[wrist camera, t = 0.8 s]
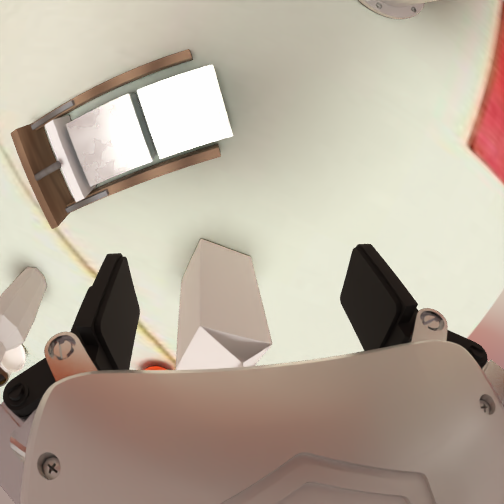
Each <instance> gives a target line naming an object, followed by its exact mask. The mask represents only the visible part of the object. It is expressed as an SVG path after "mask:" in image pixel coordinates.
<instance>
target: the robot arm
mask: <svg viewBox="0 0 504 504" xmlns="http://www.w3.org/2000/svg"><path fill="white" fill-rule="evenodd" d="M359 1H360V2H361V3H362V4H363V5H365V6H366V7H368V8H369V9H371V10H372V11H374V12H376V13H378V14H380V15H383V16H385V17H388V18H394V19H405V18H410V17H413V16H416V15H417V14H418V13H419V12H420V11H421V10H422V9H423V7H424V4H425V3H426V2H431V1H437V0H359ZM340 301H341V304H342V306H343V308H344V310H345V312H346V314H347V316H348V318H349V320H350V322H351V324H352V326H353V328H354V330H355V332H356V334H357V336H358V338H359V340H360V343H361V345H362V347H363V349H364V351H362V352H357V353H351V354H346V355H340V356H333V357H327V358H320V359H313V360H305V361H298V362H289V363H281V364H271V365H261V366H249V367H235V368H219V369H195V370H129V367H130V361H131V355H132V350H133V345H134V339H135V334H136V329H137V325H138V320H139V315H140V309H139V304H138V301H137V297H136V293H135V290H134V286H133V282H132V278H131V274H130V270H129V266H128V261H127V258H126V257H123V256H122V254H121V253H118V254H107V256H106V258H105V260H104V262H103V264H102V266H101V268H100V270H99V272H98V274H97V277H96V279H95V281H94V283H93V286H91V287H89V289H88V291H87V293H86V295H85V298H84V300H83V302H82V305H81V307H80V309H79V312H78V314H77V317H76V319H75V322H74V324H73V327H72V329H71V332H61V333H58V334H56V335H54V336H53V337H51V338H50V340H49V341H48V342H47V344H46V346H45V350H44V353H45V357H46V358H44V359H43V360H41V361H40V362H38V363H36V364H35V365H33V366H32V367H30V368H29V369H27V370H26V371H24V372H23V373H21V374H20V375H18V376H17V377H15V378H14V379H12V380H11V381H10V382H9V383H8V384H7V385H6V387H5V389H4V392H3V400H4V401H3V403H2V404H0V486H1V487H2V488H3V489H4V491H5V492H6V493H7V494H8V496H9V497H10V498H11V499H12V500H13V501H14V502H15V504H504V369H502V368H501V367H500V366H498V365H497V364H496V363H495V362H493V361H492V360H490V361H489V362H488V361H487V354H486V352H485V350H484V349H483V348H482V346H480V345H479V344H477V343H475V342H473V341H471V340H469V339H467V338H464V337H462V336H460V335H458V334H455V333H453V332H451V331H449V330H447V327H448V326H447V321H446V319H445V318H444V316H443V315H442V314H441V313H439V312H438V311H436V310H434V309H430V308H424V309H421V310H419V311H418V310H417V308H416V307H417V305H418V304H417V302H416V301H415V300H414V298H413V297H412V296H411V294H410V293H409V292H408V290H407V289H406V288H405V286H404V285H403V284H402V282H401V281H400V280H399V278H398V277H397V276H396V275H395V273H394V272H393V271H392V269H391V268H390V267H389V266H388V264H387V263H386V262H385V261H384V259H383V258H382V257H381V256H380V255H379V253H378V252H377V251H376V250H375V248H374V247H373V246H372V245H371V244H358V245H357V246H356V248H354V249H353V251H352V254H351V258H350V262H349V266H348V270H347V274H346V278H345V281H344V285H343V289H342V292H341V296H340Z"/></svg>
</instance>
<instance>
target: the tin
mask: <svg viewBox="0 0 504 504" xmlns="http://www.w3.org/2000/svg"><path fill="white" fill-rule="evenodd" d="M137 93H138V96H139V99H140V103H141V106H142V109H143V112H144V115H145V118H146V121H147V124H148V126H149V129H150V132H151V135H152V138H153V141H154V144H155V147H156V149H157V152H158V155H159V158H160V159H162V158H165V157H167V156H170V155H173V154H176V153H179V152H182V151H185V150H188V149H191V148H194V147H197V146H201V145H204V144H207V143H210V142H214V141H217V140H220V139H224V138H227V137H231V136H233V134H232V130H231V127H230V123H229V120H228V116H227V112H226V109H225V105H224V102H223V98H222V95H221V91H220V88H219V84H218V81H217V78H216V74H215V71H214V67H213V65H209V66H206V67H202V68H199V69H195V70H192V71H189V72H186V73H182V74H179V75H176V76H173V77H171V78H168V79H165V80H162V81H159V82H157V83H154V84H151V85H149V86H146V87H144V88H141V89H139V90H137Z"/></svg>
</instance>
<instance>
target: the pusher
mask: <svg viewBox="0 0 504 504" xmlns="http://www.w3.org/2000/svg"><path fill="white" fill-rule="evenodd" d="M69 122H71V119H70V116H69V115H67V116H64V117H60V118H57V119H54V120H52V121H50V122H48V123H47V124H45V128H46V131H47V134H48V136H49V139H50V142H51V145H52V147H53V150H54V152H55V155H56V157H57V160H58V161H60V163H61V170H62V172H63V174H64V177H65V179H66V181H67V184H68V186H69V188H70V190H71V193H72V195H73V197H74V199H75V201H76V202H78V201H80V200H82V199H84V198H85V197H86V196H87V195H88V194H89V193H90V192H91V191H92V190H93V189H94V188H95V187H96V185H93V186H91V187H90V185H89V183H88V180H87V178H86V176H85V173H84V171H83V169H82V166H81V164H80V161H79V159H78V156H77V154H76V151H75V149H74V146H73V143H72V141H71V138H70V135H69V132H68V130H67V127H66V124H67V123H69Z"/></svg>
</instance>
